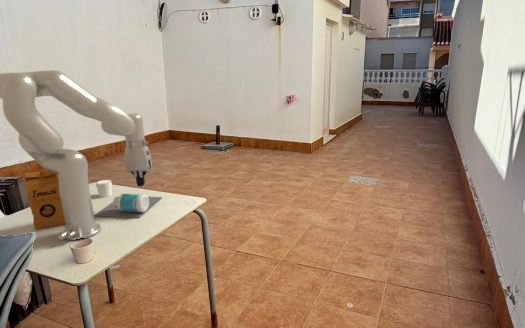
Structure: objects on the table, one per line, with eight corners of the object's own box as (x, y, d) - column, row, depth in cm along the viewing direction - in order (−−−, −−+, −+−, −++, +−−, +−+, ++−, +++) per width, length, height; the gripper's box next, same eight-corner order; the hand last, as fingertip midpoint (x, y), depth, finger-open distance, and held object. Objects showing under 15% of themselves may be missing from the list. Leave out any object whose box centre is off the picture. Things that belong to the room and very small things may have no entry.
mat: (139, 218, 139) (139, 216, 139) (94, 216, 141) (93, 215, 141) (161, 198, 160) (161, 197, 160) (121, 197, 162) (121, 196, 162)
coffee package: (68, 226, 133) (57, 172, 127) (31, 232, 129) (18, 176, 123) (72, 216, 142) (62, 165, 136) (37, 221, 138) (25, 169, 132)
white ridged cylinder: (102, 198, 161) (100, 184, 159) (95, 196, 165) (92, 182, 163) (116, 194, 166) (114, 180, 164) (108, 191, 170) (106, 178, 168)
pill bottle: (144, 191, 141) (114, 190, 144) (138, 208, 137) (108, 206, 140) (151, 199, 147) (123, 197, 150) (146, 215, 144) (117, 213, 146)
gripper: (156, 142, 145) (161, 183, 150) (123, 141, 147) (129, 182, 152) (148, 145, 137) (153, 188, 142) (114, 145, 139) (120, 188, 144)
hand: (141, 185), depth 147 cm, fingers closed
